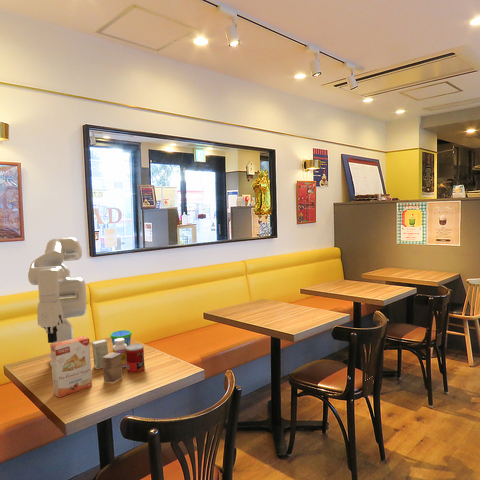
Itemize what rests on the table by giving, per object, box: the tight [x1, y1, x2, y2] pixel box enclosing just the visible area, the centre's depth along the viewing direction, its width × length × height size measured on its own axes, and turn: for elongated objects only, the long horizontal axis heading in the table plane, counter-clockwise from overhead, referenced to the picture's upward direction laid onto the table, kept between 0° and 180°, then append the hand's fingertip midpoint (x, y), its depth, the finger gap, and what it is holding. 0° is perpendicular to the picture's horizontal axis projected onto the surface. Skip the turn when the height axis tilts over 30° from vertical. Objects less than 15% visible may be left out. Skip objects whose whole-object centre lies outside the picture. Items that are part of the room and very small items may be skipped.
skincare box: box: [91, 338, 109, 370], centre depth 189 cm, size 6×4×12 cm
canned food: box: [126, 343, 146, 374], centre depth 183 cm, size 8×8×11 cm
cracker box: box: [49, 335, 93, 398], centre depth 164 cm, size 14×6×21 cm, turn 135°
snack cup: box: [110, 329, 132, 347], centre depth 208 cm, size 16×10×10 cm
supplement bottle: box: [112, 338, 127, 369], centre depth 188 cm, size 7×7×13 cm
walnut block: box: [102, 351, 123, 384], centre depth 173 cm, size 5×6×11 cm
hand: (52, 341), depth 166 cm, fingers closed
